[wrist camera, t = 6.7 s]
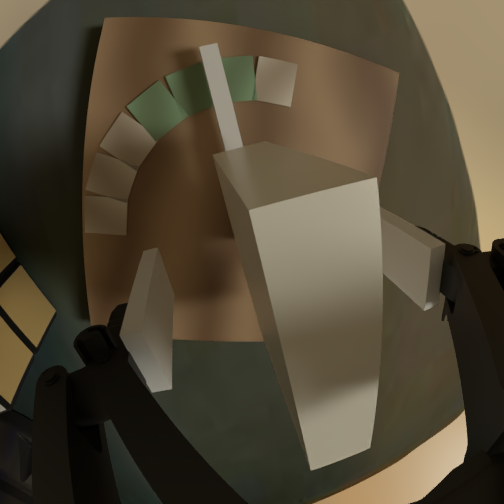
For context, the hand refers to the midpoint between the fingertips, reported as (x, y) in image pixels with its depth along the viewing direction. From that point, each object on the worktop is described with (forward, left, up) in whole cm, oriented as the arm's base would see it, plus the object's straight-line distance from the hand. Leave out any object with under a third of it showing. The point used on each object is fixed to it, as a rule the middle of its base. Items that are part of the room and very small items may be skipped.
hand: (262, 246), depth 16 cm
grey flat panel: (-1, +3, -3) cm, 4 cm away
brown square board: (-1, +1, -5) cm, 5 cm away
